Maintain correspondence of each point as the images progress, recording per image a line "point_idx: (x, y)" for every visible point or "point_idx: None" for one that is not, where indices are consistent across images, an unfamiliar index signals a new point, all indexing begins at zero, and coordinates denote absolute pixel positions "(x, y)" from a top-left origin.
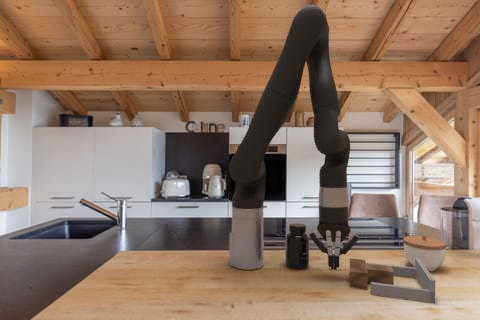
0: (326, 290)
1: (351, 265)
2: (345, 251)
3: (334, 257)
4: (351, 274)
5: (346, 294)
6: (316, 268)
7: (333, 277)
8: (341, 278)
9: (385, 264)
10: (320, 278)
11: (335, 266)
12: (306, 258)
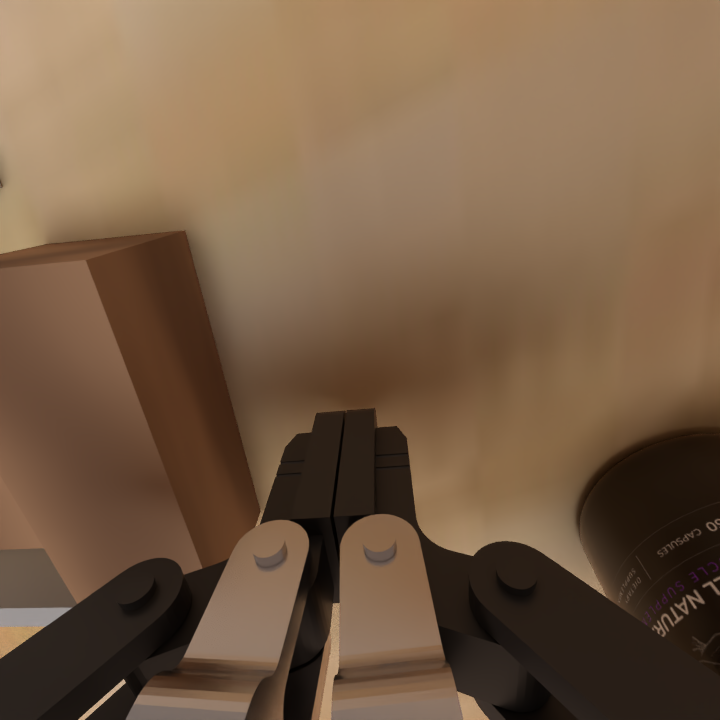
0: (377, 30)
1: (145, 459)
2: (109, 610)
3: (320, 503)
4: (97, 253)
5: (168, 22)
6: (508, 506)
7: (357, 387)
8: (293, 391)
9: (2, 625)
10: (463, 324)
11: (323, 428)
12: (649, 548)
